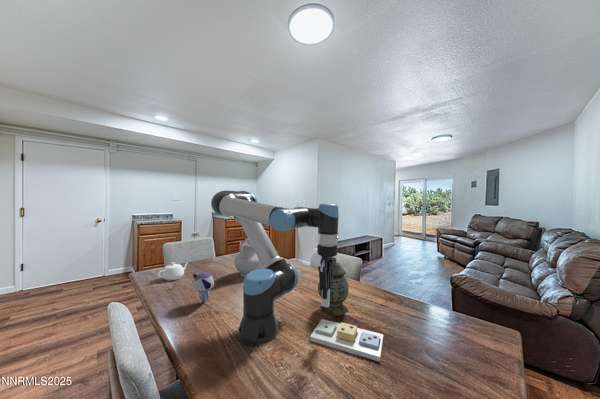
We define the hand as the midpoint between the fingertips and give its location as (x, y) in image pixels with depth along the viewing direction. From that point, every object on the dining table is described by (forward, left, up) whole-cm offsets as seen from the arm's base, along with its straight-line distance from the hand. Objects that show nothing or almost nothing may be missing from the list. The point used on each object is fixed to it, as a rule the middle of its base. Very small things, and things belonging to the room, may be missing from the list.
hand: (325, 305), depth 86 cm
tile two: (+9, 0, -9) cm, 12 cm away
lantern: (-2, +20, -12) cm, 23 cm away
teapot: (-106, +15, -12) cm, 108 cm away
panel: (+9, 0, -12) cm, 14 cm away
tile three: (+17, 0, -11) cm, 20 cm away
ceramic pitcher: (-67, +41, -12) cm, 80 cm away
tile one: (+1, 0, -11) cm, 11 cm away
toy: (-62, -1, -12) cm, 64 cm away
